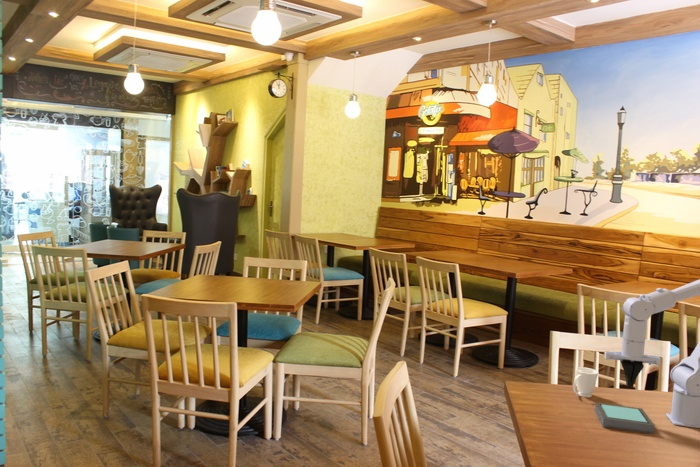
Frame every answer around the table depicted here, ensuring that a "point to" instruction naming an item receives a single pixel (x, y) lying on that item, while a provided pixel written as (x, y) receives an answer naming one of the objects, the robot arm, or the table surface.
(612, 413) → the plate
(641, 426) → the plate housing
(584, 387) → the cup
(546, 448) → the table surface
